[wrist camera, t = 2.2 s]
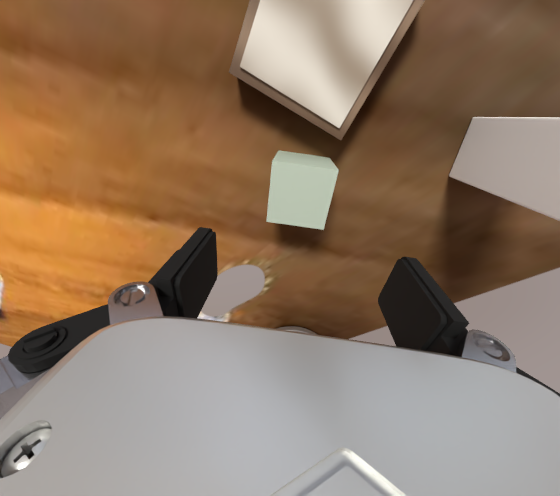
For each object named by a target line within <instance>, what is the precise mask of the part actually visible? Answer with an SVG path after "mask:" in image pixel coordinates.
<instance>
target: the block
mask: <svg viewBox="0 0 560 496" xmlns="http://www.w3.org/2000/svg"><path fill="white" fill-rule="evenodd" d="M338 171H339V170H338V169H337V167H336V166H335V165H334V163H333V162H332V160H331V159H330V158H328V157H321V156H314V155H307V154H300V153H293V152H286V151H278V152H277V154H276V156H275V157H274V159H273V161H272V169H271V180H270V190H269V201H268V211H267V222H273V223H280V224H287V225H294V226H301V227H308V228H315V229H322V230H324V226H325V222H326V218H327V214H328V210H329V207H330V203H331V199H332V195H333V191H334V187H335V183H336V179H337V175H338Z"/></svg>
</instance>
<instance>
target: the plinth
mask: <svg viewBox="0 0 560 496" xmlns="http://www.w3.org/2000/svg"><path fill="white" fill-rule="evenodd" d="M424 1H425V0H250V2H249V5H248V9H247V12H246V16H245V19H244V22H243V26H242V29H241V33H240V36H239V40H238V43H237V46H236V50H235V53H234V57H233V60H232V64H231V67H230V70H229V73H231V74H232V75H234V76H236V77H237V78H239V79H241V80H242V81H244V82H245V83H247V84H249V85H250V86H252V87H254V88H255V89H257V90H259V91H260V92H262V93H264V94H265V95H267V96H268V97H270V98H272V99H273V100H275V101H277V102H278V103H280V104H282V105H283V106H285V107H287V108H288V109H290V110H291V111H293V112H295V113H296V114H298V115H300V116H301V117H303V118H305V119H306V120H308V121H310V122H311V123H313V124H314V125H316V126H318V127H319V128H321V129H323V130H324V131H326V132H328V133H329V134H331V135H333V136H334V137H336V138H338V139H339V140H342V138H343V136H344V135H345V133H346V131H347V130H348V128H349V126H350V125H351V123H352V121H353V120H354V118H355V116H356V115H357V113H358V111H359V110H360V108H361V106H362V105H363V103H364V101H365V100H366V98H367V96H368V95H369V93H370V91H371V90H372V88H373V86H374V85H375V83H376V81H377V80H378V78H379V76H380V75H381V73H382V71H383V70H384V68H385V66H386V65H387V63H388V61H389V60H390V58H391V56H392V55H393V53H394V51H395V50H396V48H397V46H398V45H399V43H400V41H401V40H402V38H403V36H404V34H405V33H406V31H407V29H408V28H409V26H410V24H411V23H412V21H413V19H414V18H415V16H416V14H417V13H418V11H419V9H420V8H421V6H422V4H423V3H424Z"/></svg>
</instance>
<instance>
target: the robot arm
mask: <svg viewBox="0 0 560 496" xmlns="http://www.w3.org/2000/svg"><path fill="white" fill-rule="evenodd" d="M216 279H217V249H216V233H215V232H213V231H212V229H209V228H202V227H200V228H198V229H197V231H196V232H195V233H194V234H193V235H192V236H191V237H190V239H189V240H188V241H187V242H186V243H185V244H184V245H183V246H182V248H181V249H180V250H177V251H176V252H175V253H174V254H173V255H172V257H171V258H170V259H169V260H168V261H167V262H166V263H165V264H164V265H163V267H162V268H161V269H160V270H159V271H158V272H157V273H156V274H155V275H154V277H153V278H152V279H151V280H150V281H149V282H148V283H147V282H132V283H128V284H125V285H123V286H121V287H119V288H117V289H116V290H115V291H114V292H112V293H111V295H110V296H109V299H108V304H107V305H104V306H101V307H98V308H95V309H92V310H89V311H87V312H84V313H81V314H78V315H75V316H72V317H69V318H66V319H63V320H61V321H58V322H55V323H52V324H49V325H46V326H43V327H41V328H38V329H36V330H34V331H32V332H30V333H28V334H27V335H25V336H24V337H22V338H21V339H20V340H19V341H17V342H16V343H15V344H14V346H13V347H12V348H11V349H10V352H9V354H8V355H7V356H6V357H3V358H2V359H0V496H560V394H559V393H558V392H556V391H555V390H553V389H551V388H550V387H548V386H546V385H545V384H543V383H542V382H540V381H538V380H537V379H535V378H533V377H532V376H530V375H529V374H527V373H525V372H524V371H522V370H520V369H519V368H517V367H516V359H515V356H514V354H513V353H512V351H511V350H510V349H509V348H508V347H507V346H506V345H505V344H504V343H502V342H501V341H500V340H499V339H497V338H495V337H494V336H492V335H490V334H488V333H486V332H483V331H479V330H470V331H469V332H468V331H467V329H466V328H465V327H466V326H467V325H468V324H469V323H468V321H467V320H466V319H465V317H464V316H463V315H462V314H461V312H460V311H459V310H458V309H457V308H456V306H455V305H454V304H453V303H452V301H451V300H450V299H449V298H448V296H447V295H446V294H445V293H444V292H443V290H442V289H441V288H440V287H439V285H438V284H437V283H436V282H435V281H434V279H433V278H432V277H431V276H430V274H429V273H428V272H427V271H426V269H425V268H424V267H423V266H422V265H421V263H420V262H419V261H418V260H417V259H416V258H410V257H402V258H401V259H398V260H397V262H396V264H395V266H394V268H393V270H392V272H391V274H390V276H389V278H388V280H387V282H386V284H385V285H384V287H383V289H382V291H381V293H380V295H379V298H378V303H379V306H380V308H381V311H382V313H383V316H384V318H385V320H386V323H387V325H388V327H389V330H390V332H391V335H392V337H393V339H394V342H395V344H396V346H397V347H396V346H389V345H382V344H376V343H369V342H363V341H356V340H349V339H342V338H335V337H329V336H322V335H317V334H316V333H314V332H313V331H311V330H308V329H306V328H302V327H296V326H286V327H280V328H277V329H272V328H265V327H258V326H251V325H243V324H236V323H229V322H221V321H213V320H205V319H197V317H198V315H199V313H200V311H201V309H202V307H203V305H204V303H205V301H206V299H207V297H208V295H209V293H210V291H211V289H212V287H213V285H214V283H215V281H216Z"/></svg>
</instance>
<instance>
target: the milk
mask: <svg viewBox="0 0 560 496" xmlns="http://www.w3.org/2000/svg"><path fill="white" fill-rule="evenodd" d="M449 177H452V178H454V179H457V180H459V181H462V182H464V183H466V184H469V185H471V186H474V187H476V188H479V189H481V190H484V191H486V192H489V193H491V194H494V195H496V196H499V197H501V198H504V199H506V200H509V201H511V202H514V203H516V204H519V205H521V206H524V207H526V208H529V209H531V210H534V211H536V212H539V213H541V214H543V215H546V216H548V217H551V218H553V219H556V220H558V221H560V118H549V117H473V118H472V121H471V123H470V125H469V128H468V130H467V133H466V135H465V138H464V140H463V142H462V145H461V147H460V150H459V152H458V155H457V157H456V159H455V162H454V164H453V167H452V169H451V172H450V174H449Z"/></svg>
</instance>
